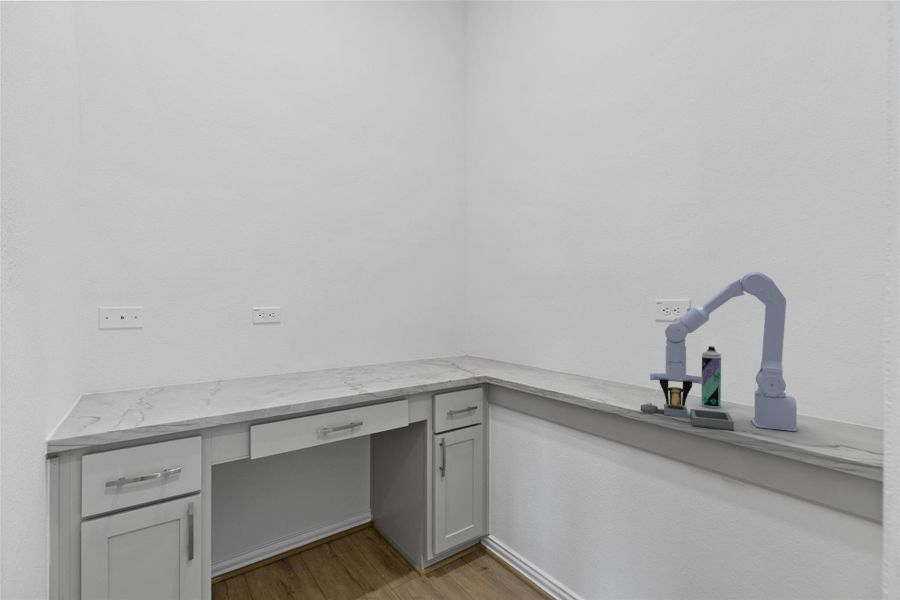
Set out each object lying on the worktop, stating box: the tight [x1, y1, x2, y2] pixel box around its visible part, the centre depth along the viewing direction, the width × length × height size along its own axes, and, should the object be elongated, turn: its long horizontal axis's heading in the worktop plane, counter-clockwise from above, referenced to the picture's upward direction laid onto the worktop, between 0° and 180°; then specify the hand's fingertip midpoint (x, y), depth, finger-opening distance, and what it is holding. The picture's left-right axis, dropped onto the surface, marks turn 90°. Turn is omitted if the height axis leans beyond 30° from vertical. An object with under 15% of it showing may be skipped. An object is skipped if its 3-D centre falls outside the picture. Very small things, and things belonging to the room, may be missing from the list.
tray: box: [689, 408, 735, 431], centre depth 130 cm, size 10×10×2 cm
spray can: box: [701, 345, 722, 410], centre depth 148 cm, size 6×6×20 cm
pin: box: [668, 386, 683, 410], centre depth 140 cm, size 4×4×8 cm
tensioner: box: [640, 402, 689, 418], centre depth 141 cm, size 13×6×2 cm, turn 65°
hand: (675, 404), depth 140 cm, fingers closed on pin, 4 cm apart
